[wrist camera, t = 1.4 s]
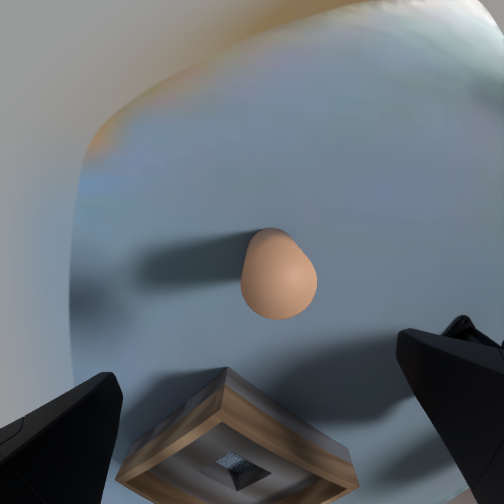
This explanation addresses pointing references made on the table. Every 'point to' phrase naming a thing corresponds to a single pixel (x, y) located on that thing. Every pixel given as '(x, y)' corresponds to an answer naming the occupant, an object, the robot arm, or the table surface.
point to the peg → (277, 275)
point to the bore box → (241, 443)
